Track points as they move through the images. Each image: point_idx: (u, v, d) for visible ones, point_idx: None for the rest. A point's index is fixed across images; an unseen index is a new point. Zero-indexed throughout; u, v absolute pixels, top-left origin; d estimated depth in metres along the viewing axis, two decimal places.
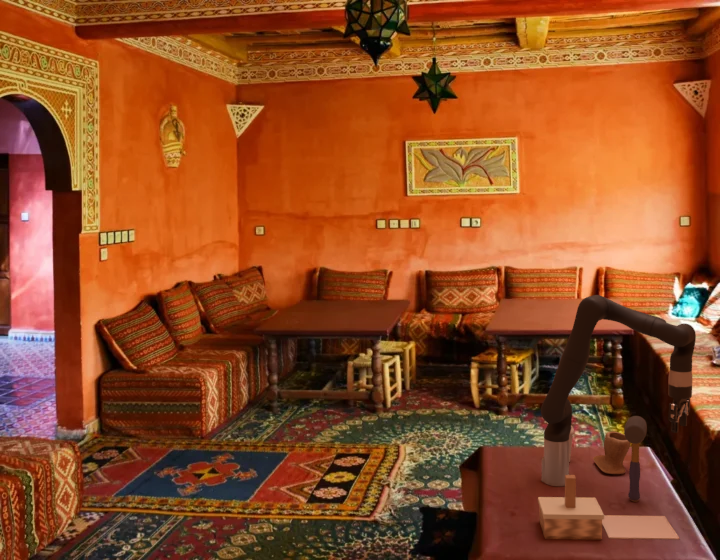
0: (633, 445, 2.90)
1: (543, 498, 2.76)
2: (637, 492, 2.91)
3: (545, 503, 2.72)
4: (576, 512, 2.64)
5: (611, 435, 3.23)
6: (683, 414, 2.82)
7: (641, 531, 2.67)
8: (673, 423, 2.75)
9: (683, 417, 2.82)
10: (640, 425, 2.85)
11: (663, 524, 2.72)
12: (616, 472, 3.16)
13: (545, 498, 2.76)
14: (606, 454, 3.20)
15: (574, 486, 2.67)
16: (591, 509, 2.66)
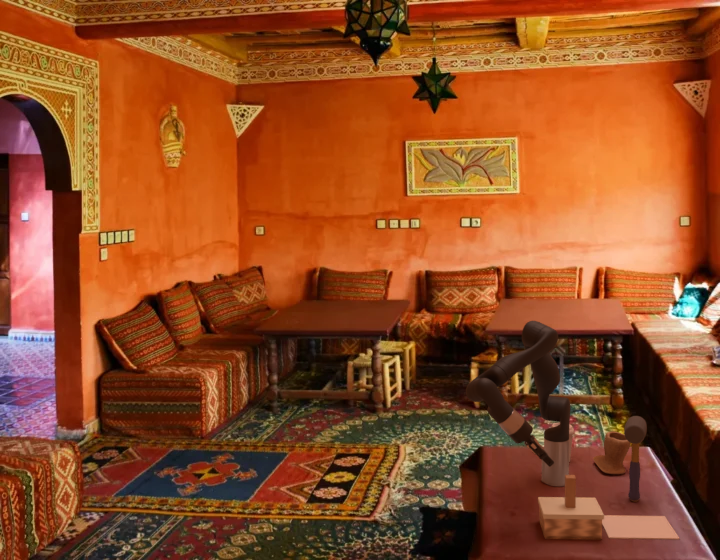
0: (633, 445, 2.90)
1: (543, 498, 2.76)
2: (637, 492, 2.91)
3: (545, 503, 2.72)
4: (576, 512, 2.64)
5: (611, 435, 3.23)
6: None
7: (641, 531, 2.67)
8: None
9: None
10: (640, 425, 2.85)
11: (663, 524, 2.72)
12: (616, 472, 3.16)
13: (545, 498, 2.76)
14: (606, 454, 3.20)
15: (574, 486, 2.67)
16: (591, 509, 2.66)
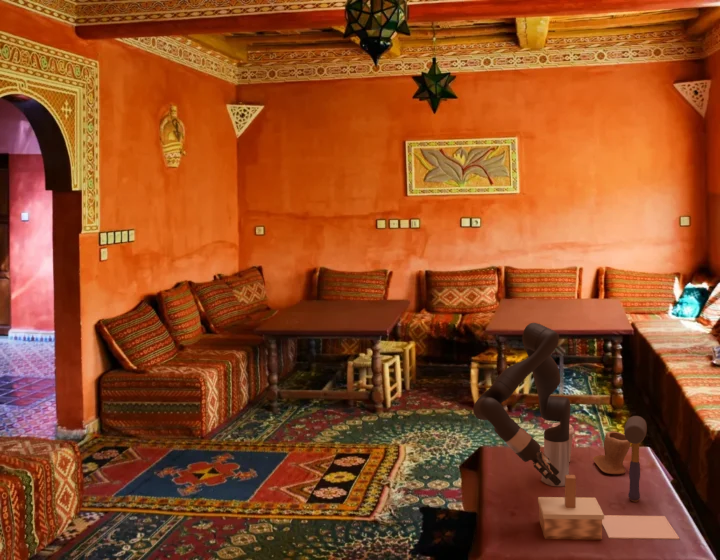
0: (633, 445, 2.90)
1: (543, 498, 2.76)
2: (637, 492, 2.91)
3: (545, 503, 2.72)
4: (576, 512, 2.64)
5: (611, 435, 3.23)
6: None
7: (641, 531, 2.67)
8: None
9: None
10: (640, 425, 2.85)
11: (663, 524, 2.72)
12: (616, 472, 3.16)
13: (545, 498, 2.76)
14: (606, 454, 3.20)
15: (574, 486, 2.67)
16: (591, 509, 2.66)
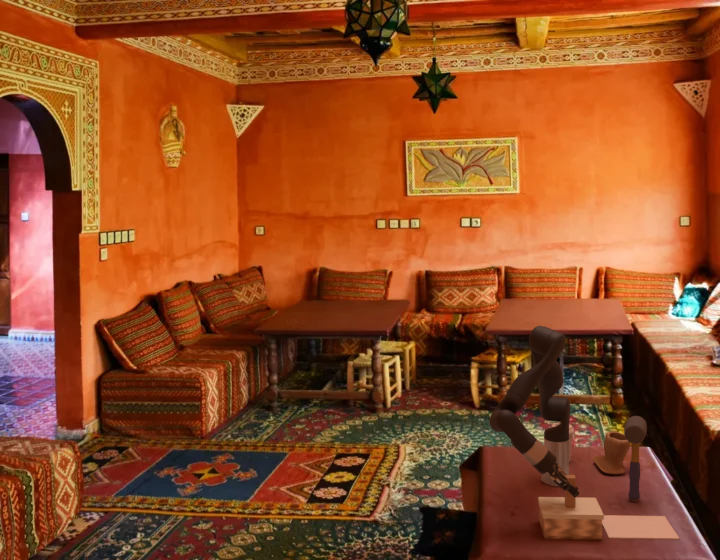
0: (633, 445, 2.90)
1: (543, 498, 2.76)
2: (637, 492, 2.91)
3: (545, 502, 2.72)
4: (576, 512, 2.64)
5: (611, 435, 3.23)
6: None
7: (641, 531, 2.67)
8: None
9: None
10: (640, 425, 2.85)
11: (663, 524, 2.72)
12: (616, 472, 3.16)
13: (545, 498, 2.76)
14: (606, 454, 3.20)
15: (574, 486, 2.67)
16: (591, 509, 2.66)
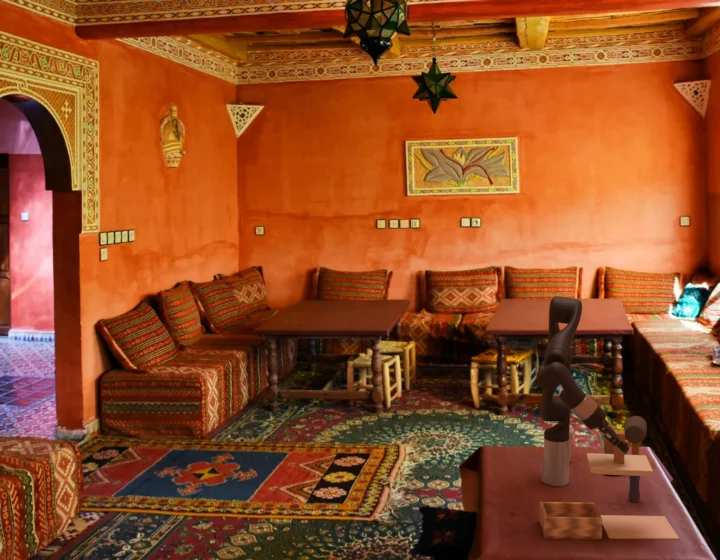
0: (633, 445, 2.90)
1: (592, 454, 2.75)
2: (637, 492, 2.91)
3: (593, 458, 2.71)
4: (624, 468, 2.63)
5: None
6: None
7: (641, 531, 2.67)
8: None
9: None
10: (640, 425, 2.85)
11: (663, 524, 2.72)
12: None
13: (594, 454, 2.75)
14: None
15: (623, 442, 2.65)
16: (640, 465, 2.64)
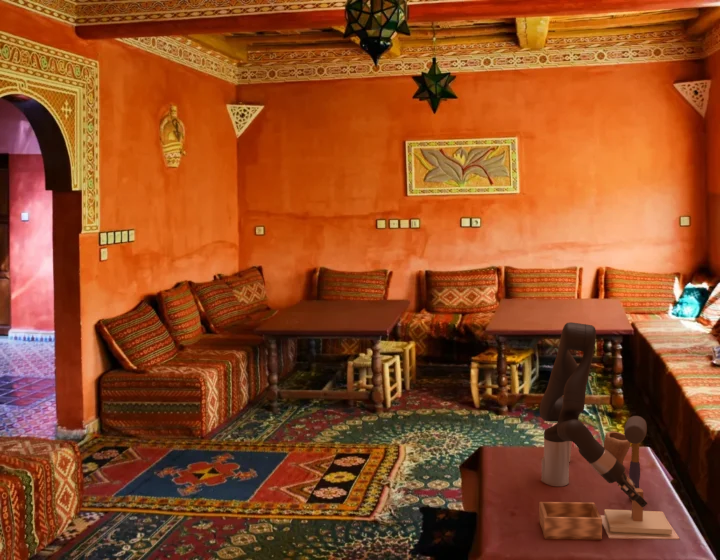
0: (633, 445, 2.90)
1: (610, 510, 2.78)
2: None
3: (611, 515, 2.74)
4: (643, 526, 2.66)
5: (611, 435, 3.23)
6: None
7: None
8: None
9: None
10: (640, 425, 2.85)
11: None
12: None
13: (612, 510, 2.78)
14: None
15: None
16: (658, 523, 2.67)
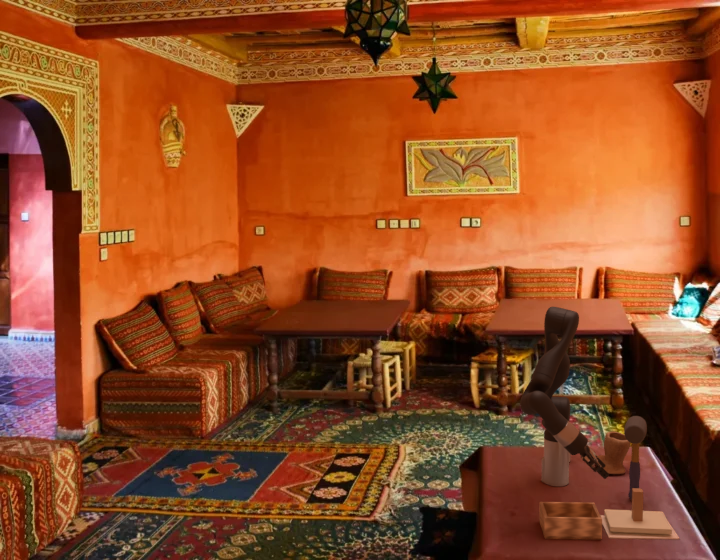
0: (633, 445, 2.90)
1: (610, 510, 2.78)
2: None
3: (611, 515, 2.74)
4: (643, 526, 2.66)
5: (611, 435, 3.23)
6: None
7: None
8: None
9: None
10: (640, 425, 2.85)
11: None
12: (616, 472, 3.16)
13: (612, 510, 2.78)
14: (606, 454, 3.20)
15: (641, 500, 2.68)
16: (658, 523, 2.67)
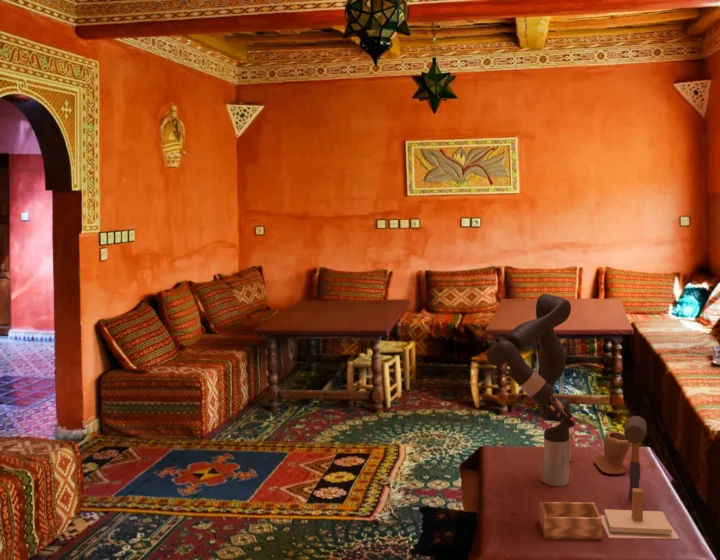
0: (633, 445, 2.90)
1: (610, 510, 2.78)
2: None
3: (611, 515, 2.74)
4: (643, 526, 2.66)
5: (611, 435, 3.23)
6: None
7: None
8: None
9: None
10: (640, 425, 2.85)
11: None
12: (616, 472, 3.16)
13: (612, 510, 2.78)
14: (606, 454, 3.20)
15: (641, 500, 2.68)
16: (658, 523, 2.67)
